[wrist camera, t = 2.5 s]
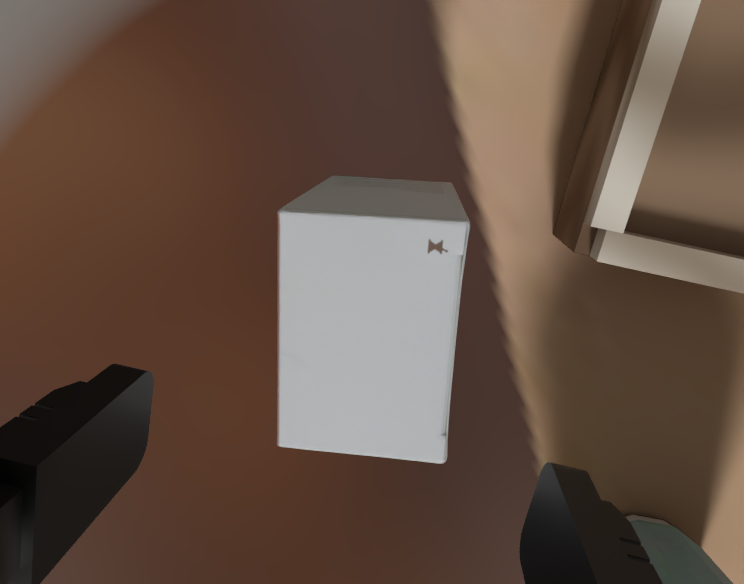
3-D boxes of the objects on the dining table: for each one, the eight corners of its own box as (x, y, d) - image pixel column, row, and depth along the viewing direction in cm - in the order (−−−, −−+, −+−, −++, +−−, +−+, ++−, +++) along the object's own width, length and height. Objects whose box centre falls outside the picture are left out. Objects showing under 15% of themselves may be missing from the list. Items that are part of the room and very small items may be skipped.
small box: (331, 172, 27) (273, 200, 17) (455, 181, 26) (473, 214, 16) (325, 338, 29) (271, 452, 19) (439, 348, 28) (446, 469, 18)
